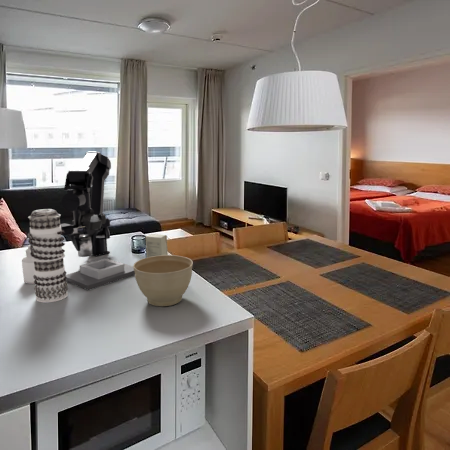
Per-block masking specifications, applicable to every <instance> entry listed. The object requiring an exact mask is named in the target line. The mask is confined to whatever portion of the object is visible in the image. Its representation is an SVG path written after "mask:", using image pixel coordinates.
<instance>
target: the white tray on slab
mask: <svg viewBox="0 0 450 450" xmlns="http://www.w3.org/2000/svg"><path fill="white" fill-rule="evenodd" d="M65 276H66V277H67V279H66V282H67V283H69V284H72V285H74V286H77V287H78V288H81V289H84V290H87V291H91V290H93V289H96V288H99V287H103V286H105V285H108V284H111V283H114V282H117V281H121V280H124V279H125V278H129V277H133V276H135V271H134V268H133V265H130V264H126V263H123V262H120V261H116V260H111V259H109V258H102V259H99V260H96V261H95V260H94V261H91V262H87V263H85V264H80V265H79V270H78V271H73V272H71V273H66V275H65Z"/></svg>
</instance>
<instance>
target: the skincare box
mask: <svg viewBox="0 0 450 450" xmlns="http://www.w3.org/2000/svg"><path fill="white" fill-rule="evenodd" d="M145 249H146V250H145V252H146V258H147V257H152V256H160V255H169V252H168V235H167V234H157V233H151V234H148V235H146V236H145Z"/></svg>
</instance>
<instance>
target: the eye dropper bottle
mask: <svg viewBox="0 0 450 450" xmlns="http://www.w3.org/2000/svg"><path fill="white" fill-rule="evenodd" d="M27 246H28V247H27V248H26V250H25V257H23V258H22V259H21V266H22V267H21V268H22V275H23V276H22V277H23V281H24V283H26V284H30V285H35V284H34V281H35V279H34V277H33V276H34V268H35V267H34V261H33V260H32V256H31V254H30V253H31V250H30V246H31V244H28V245H27Z"/></svg>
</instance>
